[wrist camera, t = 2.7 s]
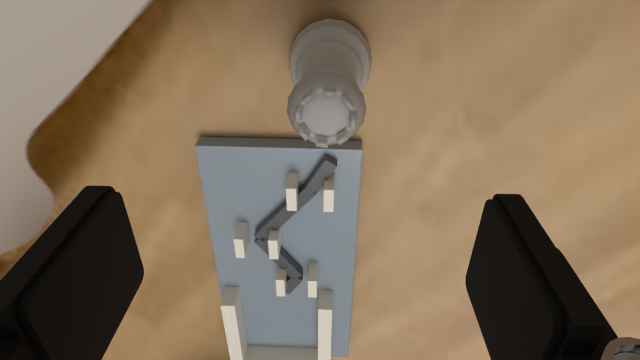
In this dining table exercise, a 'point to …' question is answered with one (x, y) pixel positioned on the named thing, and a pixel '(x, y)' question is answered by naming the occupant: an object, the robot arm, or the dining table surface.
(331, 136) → the rook chess piece
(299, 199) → the board
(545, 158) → the dining table surface
